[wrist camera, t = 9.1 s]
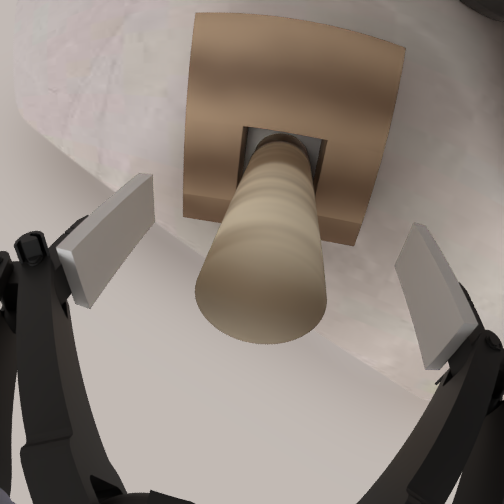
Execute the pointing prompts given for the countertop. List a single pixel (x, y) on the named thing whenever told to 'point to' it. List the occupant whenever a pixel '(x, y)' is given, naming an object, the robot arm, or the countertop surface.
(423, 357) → the robot arm
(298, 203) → the peg
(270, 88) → the board
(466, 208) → the countertop surface
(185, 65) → the countertop surface
